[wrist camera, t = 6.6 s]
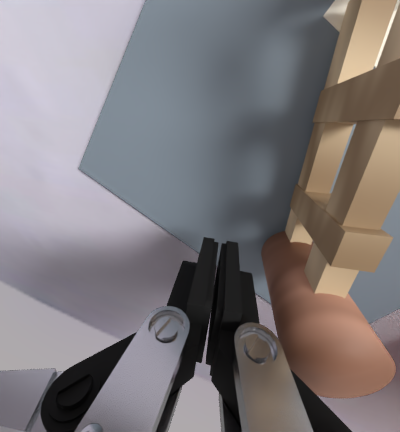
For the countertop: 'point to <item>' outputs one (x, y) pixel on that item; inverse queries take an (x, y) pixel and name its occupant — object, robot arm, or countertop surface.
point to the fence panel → (341, 213)
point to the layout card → (227, 126)
